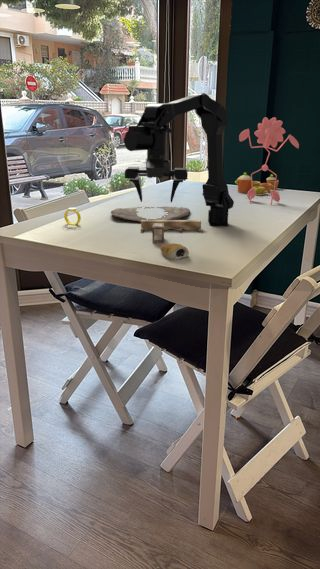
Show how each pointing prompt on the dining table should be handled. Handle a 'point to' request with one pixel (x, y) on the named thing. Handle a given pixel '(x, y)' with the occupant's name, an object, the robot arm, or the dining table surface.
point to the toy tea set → (255, 185)
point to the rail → (172, 224)
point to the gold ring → (75, 212)
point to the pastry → (174, 251)
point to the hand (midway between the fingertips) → (156, 201)
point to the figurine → (268, 136)
